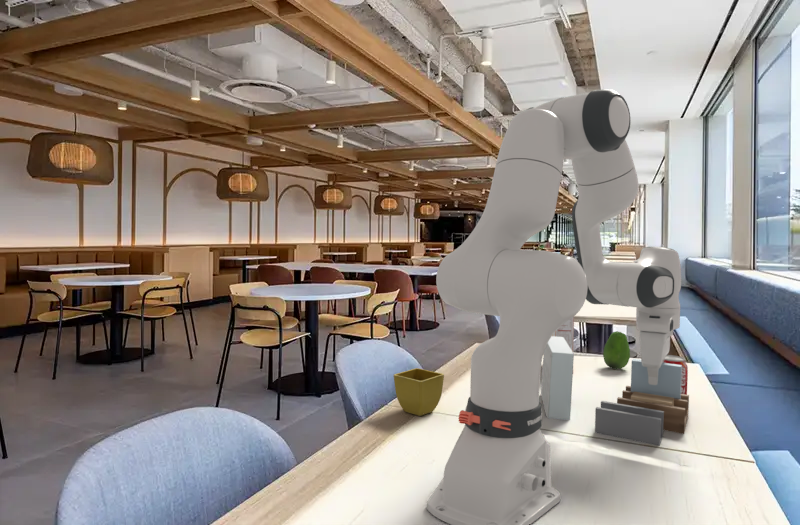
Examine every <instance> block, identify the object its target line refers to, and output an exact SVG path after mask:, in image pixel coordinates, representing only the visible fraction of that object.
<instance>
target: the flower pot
mask: <svg viewBox="0 0 800 525" xmlns="http://www.w3.org/2000/svg"><path fill="white" fill-rule="evenodd" d="M444 380H445V373H441V372H436V371H430V370H427V369H425V368H418V367H417V368H415V367H414V368H412V369H408V370H405V371H401V372H398V373H394V374H393V381H394V388H395V395H396V399H397V402H398V403H399V405H400V407H401V408H402V410H403V411H404V412H405V413H408V414H412V415H415V416H419V417H422V416H424V415H426V414H429V413H431V412H434V411H435V409H436V408H437V407H438V406H439V403H440V400H441V398H442V395H443V386H444Z"/></svg>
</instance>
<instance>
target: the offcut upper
mask: <svg viewBox="0 0 800 525" xmlns="http://www.w3.org/2000/svg"><path fill="white" fill-rule="evenodd" d="M631 399H633V400H639V401H645V402H651V403H657V404H663V405H669V406H674V398H673V397H666V396H660V395H653V394H647V393H641V392H633V394H632V395H631Z"/></svg>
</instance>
